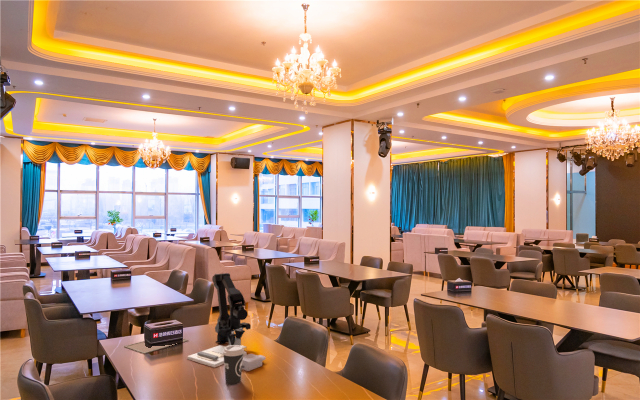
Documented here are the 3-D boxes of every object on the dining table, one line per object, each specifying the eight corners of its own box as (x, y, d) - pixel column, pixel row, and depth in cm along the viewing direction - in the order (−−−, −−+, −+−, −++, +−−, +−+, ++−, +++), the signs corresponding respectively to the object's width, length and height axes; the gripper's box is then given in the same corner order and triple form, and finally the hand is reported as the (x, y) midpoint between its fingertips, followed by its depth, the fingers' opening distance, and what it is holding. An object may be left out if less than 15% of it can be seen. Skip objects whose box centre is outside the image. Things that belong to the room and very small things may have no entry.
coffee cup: (234, 376, 197) (235, 343, 197) (248, 381, 190) (248, 347, 191) (217, 382, 189) (218, 348, 189) (231, 388, 183) (231, 352, 183)
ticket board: (220, 347, 236) (220, 342, 236) (246, 354, 225) (246, 348, 225) (187, 359, 218) (187, 353, 218) (214, 367, 207) (214, 361, 207)
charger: (271, 363, 214) (248, 372, 202) (258, 359, 219) (235, 367, 208) (271, 353, 214) (248, 361, 202) (258, 349, 220) (235, 357, 208)
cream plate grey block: (233, 344, 238) (233, 335, 238) (246, 347, 232) (246, 338, 232) (222, 347, 231) (222, 338, 231) (235, 351, 226) (236, 342, 226)
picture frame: (144, 355, 225) (188, 341, 248) (144, 353, 225) (188, 340, 248) (124, 348, 237) (168, 336, 259) (124, 346, 237) (168, 334, 259)
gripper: (237, 310, 244) (236, 338, 244) (211, 317, 229) (211, 346, 229) (251, 313, 238) (251, 341, 238) (226, 320, 223) (225, 350, 222)
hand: (234, 345), depth 232 cm, fingers closed on cream plate grey block, 3 cm apart
